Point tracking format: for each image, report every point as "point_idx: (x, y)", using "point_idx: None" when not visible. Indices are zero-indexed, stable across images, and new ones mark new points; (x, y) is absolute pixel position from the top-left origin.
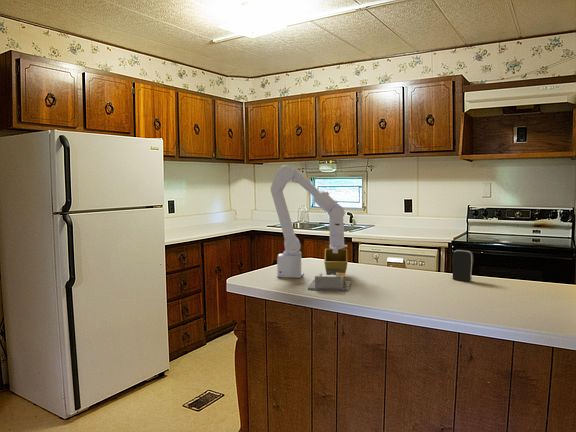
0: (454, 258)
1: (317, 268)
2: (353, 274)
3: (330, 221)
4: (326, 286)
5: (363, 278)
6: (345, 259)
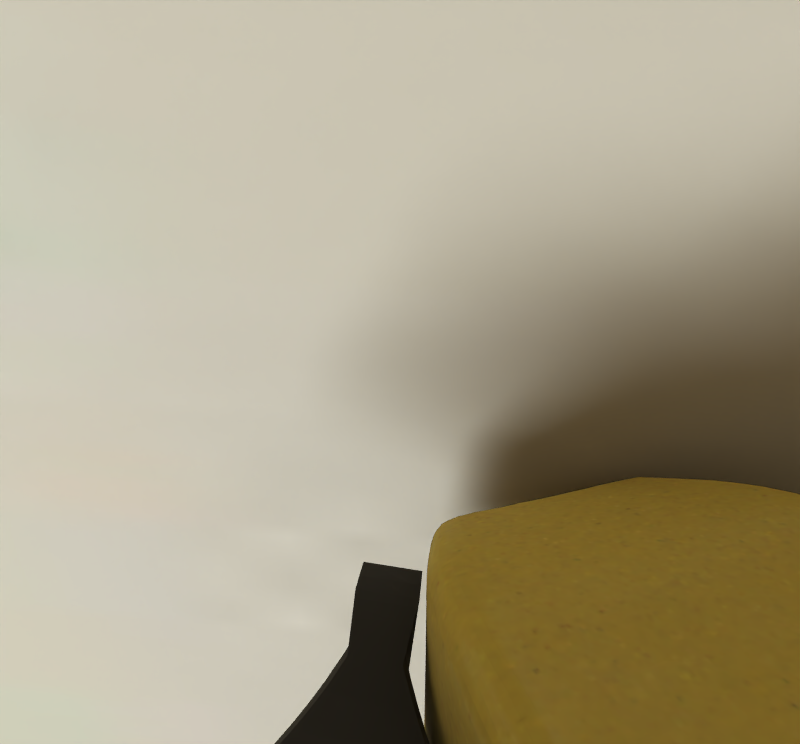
0: None
1: (23, 711)
2: (341, 255)
3: None
4: None
5: (730, 57)
6: (602, 677)
